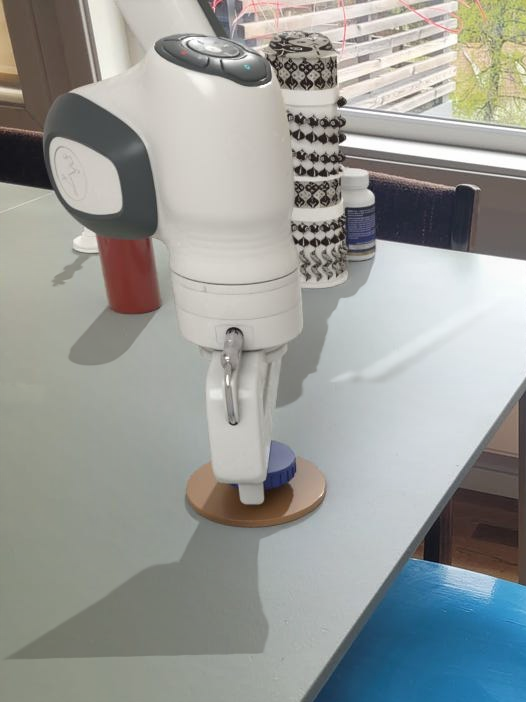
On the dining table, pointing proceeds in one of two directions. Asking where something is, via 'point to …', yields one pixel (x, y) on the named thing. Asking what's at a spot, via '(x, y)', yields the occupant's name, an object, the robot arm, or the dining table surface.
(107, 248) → the jar
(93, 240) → the chess piece
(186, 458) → the dining table surface
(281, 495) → the coaster
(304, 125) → the decorative candle
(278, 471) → the lid
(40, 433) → the dining table surface
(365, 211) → the pill bottle
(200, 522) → the dining table surface
